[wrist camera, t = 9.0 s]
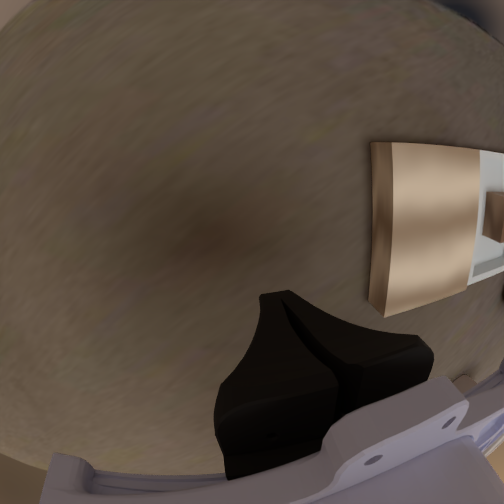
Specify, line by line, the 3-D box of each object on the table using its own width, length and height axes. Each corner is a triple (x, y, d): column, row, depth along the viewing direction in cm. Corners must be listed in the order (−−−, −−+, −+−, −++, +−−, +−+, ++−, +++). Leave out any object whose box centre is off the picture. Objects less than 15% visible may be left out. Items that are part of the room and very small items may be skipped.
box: (502, 259, 27) (513, 266, 24) (452, 277, 26) (466, 285, 23) (511, 155, 22) (525, 157, 20) (462, 147, 21) (479, 149, 18)
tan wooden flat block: (448, 278, 26) (466, 289, 23) (368, 300, 24) (384, 317, 22) (458, 147, 21) (479, 149, 18) (370, 142, 20) (391, 142, 17)
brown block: (500, 243, 21) (482, 234, 24) (518, 238, 22) (501, 231, 25) (505, 197, 20) (486, 191, 22) (523, 197, 20) (505, 192, 23)
